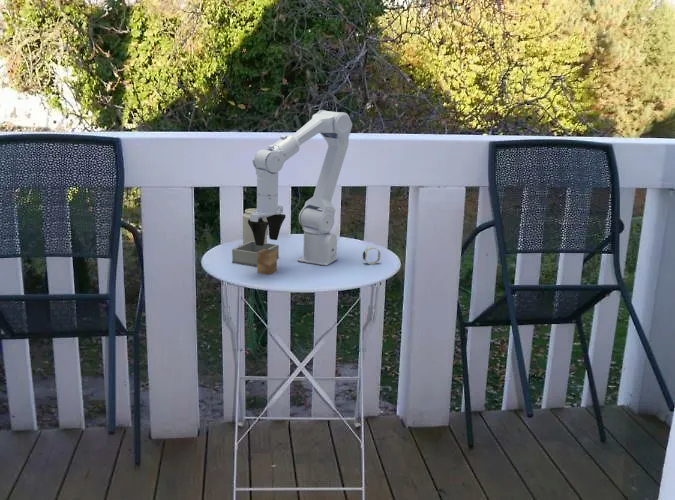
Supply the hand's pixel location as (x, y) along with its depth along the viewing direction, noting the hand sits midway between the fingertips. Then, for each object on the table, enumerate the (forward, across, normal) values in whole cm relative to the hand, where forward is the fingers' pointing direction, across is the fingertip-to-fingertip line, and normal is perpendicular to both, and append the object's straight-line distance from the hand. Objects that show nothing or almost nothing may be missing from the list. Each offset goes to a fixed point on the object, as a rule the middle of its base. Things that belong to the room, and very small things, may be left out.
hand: (266, 242), depth 202 cm
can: (+8, +21, +16) cm, 28 cm away
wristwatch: (+8, +23, -23) cm, 33 cm away
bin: (+8, +8, +8) cm, 15 cm away
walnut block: (+9, 0, 0) cm, 9 cm away
